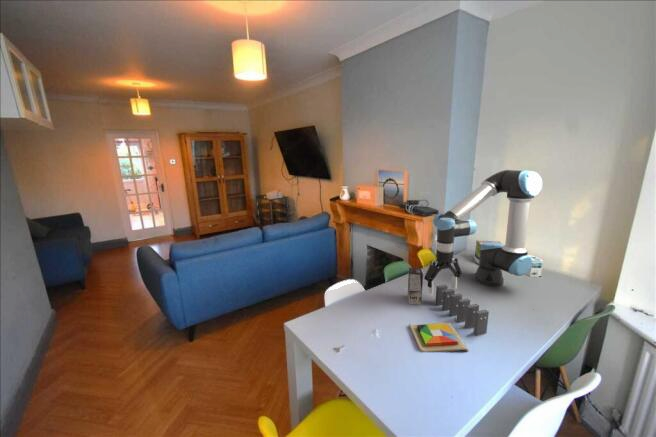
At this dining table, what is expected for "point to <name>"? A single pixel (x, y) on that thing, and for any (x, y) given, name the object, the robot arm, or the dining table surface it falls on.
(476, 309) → the domino
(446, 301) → the domino
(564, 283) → the dining table surface
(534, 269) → the light bulb box
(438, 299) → the domino
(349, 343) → the dining table surface
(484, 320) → the domino
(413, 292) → the coffee box
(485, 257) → the robot arm
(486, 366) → the dining table surface
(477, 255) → the tea box
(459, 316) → the domino
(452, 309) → the domino
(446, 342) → the wooden puzzle
